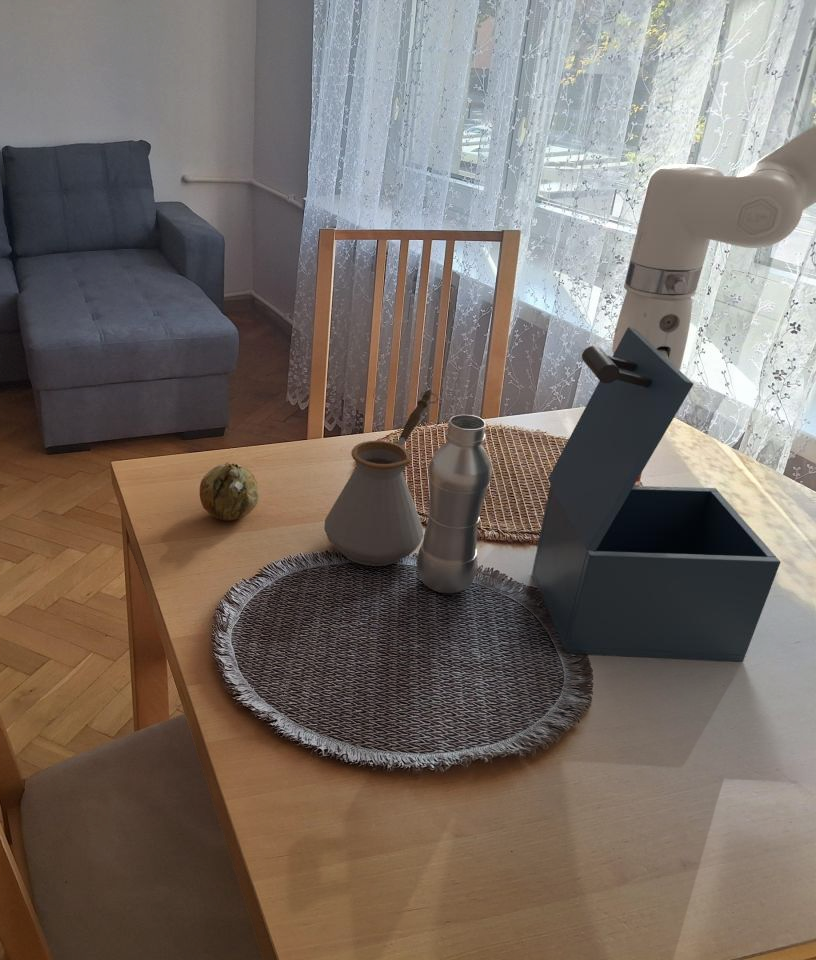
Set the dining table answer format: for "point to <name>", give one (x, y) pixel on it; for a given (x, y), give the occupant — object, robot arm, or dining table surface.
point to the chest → (656, 578)
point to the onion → (229, 492)
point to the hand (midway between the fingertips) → (626, 416)
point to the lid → (616, 432)
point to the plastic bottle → (455, 507)
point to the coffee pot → (378, 502)
